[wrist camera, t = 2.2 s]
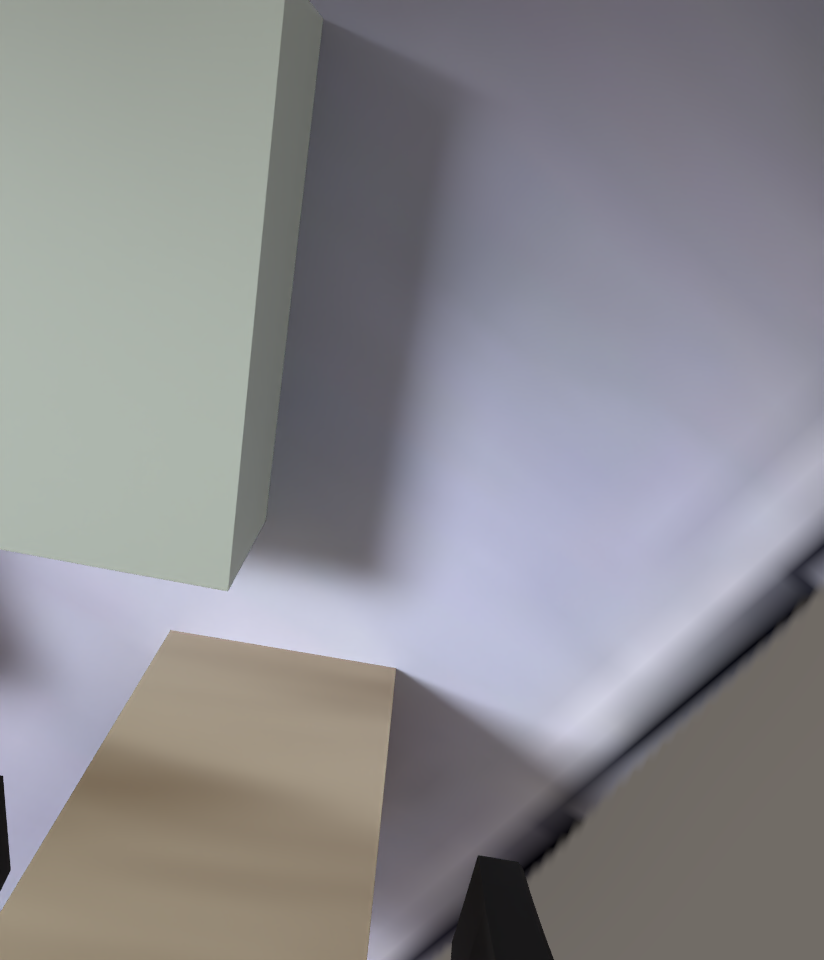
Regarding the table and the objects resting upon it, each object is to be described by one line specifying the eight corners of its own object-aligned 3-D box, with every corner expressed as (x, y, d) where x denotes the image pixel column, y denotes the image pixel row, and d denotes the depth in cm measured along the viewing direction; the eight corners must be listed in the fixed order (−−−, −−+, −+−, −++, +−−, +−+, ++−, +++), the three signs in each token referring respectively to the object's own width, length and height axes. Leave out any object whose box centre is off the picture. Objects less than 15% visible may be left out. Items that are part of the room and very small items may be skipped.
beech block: (364, 828, 14) (311, 1246, 9) (163, 795, 14) (-19, 1199, 8) (396, 667, 13) (357, 1055, 7) (170, 629, 12) (-51, 993, 7)
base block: (271, 511, 12) (228, 590, 10) (-153, 431, 12) (-301, 493, 9) (328, 24, 9) (288, -27, 7) (-225, -89, 9) (-461, -184, 7)
